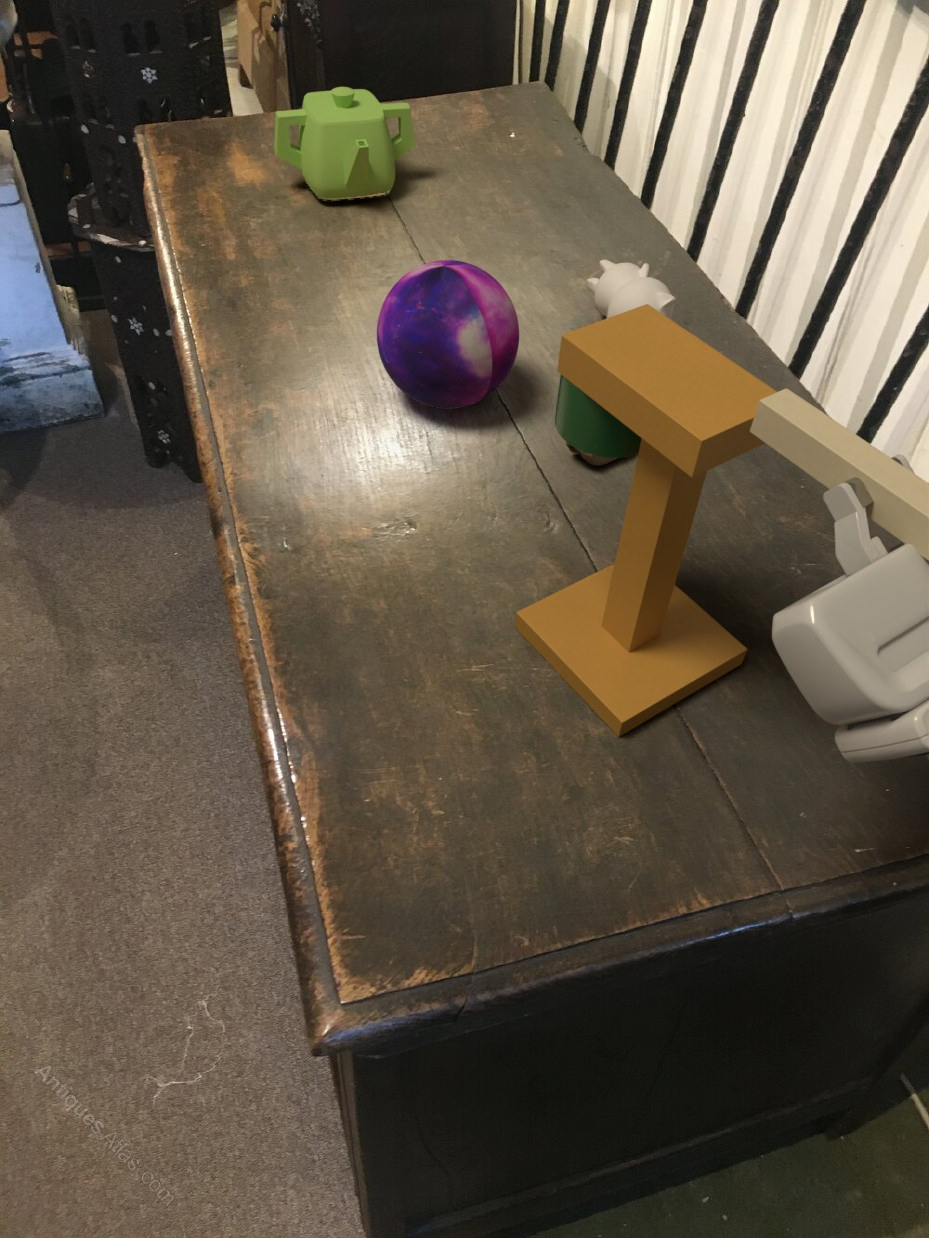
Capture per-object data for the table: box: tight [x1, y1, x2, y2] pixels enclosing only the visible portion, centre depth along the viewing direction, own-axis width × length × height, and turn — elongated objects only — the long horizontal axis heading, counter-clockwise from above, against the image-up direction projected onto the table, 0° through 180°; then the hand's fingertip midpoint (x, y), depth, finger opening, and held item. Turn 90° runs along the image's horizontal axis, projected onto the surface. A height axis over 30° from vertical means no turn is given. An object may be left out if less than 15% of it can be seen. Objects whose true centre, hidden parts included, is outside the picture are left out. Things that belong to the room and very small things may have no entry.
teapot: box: [273, 86, 416, 202], centre depth 136 cm, size 18×20×13 cm
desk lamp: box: [514, 304, 778, 738], centre depth 75 cm, size 18×14×27 cm
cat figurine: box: [586, 259, 677, 321], centre depth 116 cm, size 9×11×12 cm
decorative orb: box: [376, 259, 520, 410], centre depth 102 cm, size 15×15×15 cm
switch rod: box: [750, 388, 929, 561], centre depth 56 cm, size 15×3×3 cm, turn 35°
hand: (861, 473), depth 56 cm, fingers closed on switch rod, 2 cm apart
